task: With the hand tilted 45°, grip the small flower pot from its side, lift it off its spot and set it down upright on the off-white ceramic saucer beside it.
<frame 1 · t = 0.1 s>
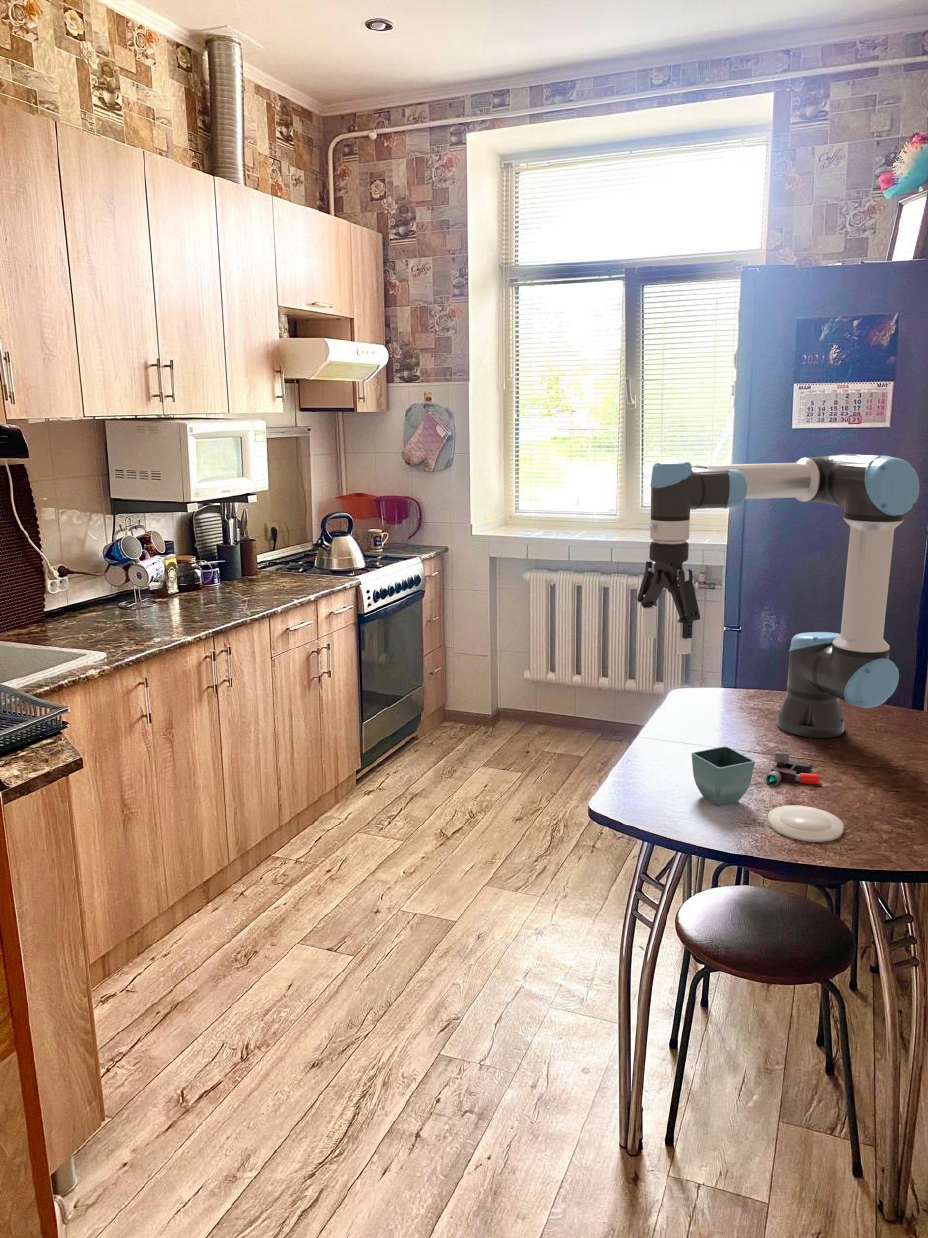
hand: (665, 645, 187), 28 cm above the table, tool pointing down, fingers open, 13 cm apart
saucer: (804, 825, 170), on the table
flower pot: (720, 800, 182), on the table
toy gun: (794, 782, 191), on the table
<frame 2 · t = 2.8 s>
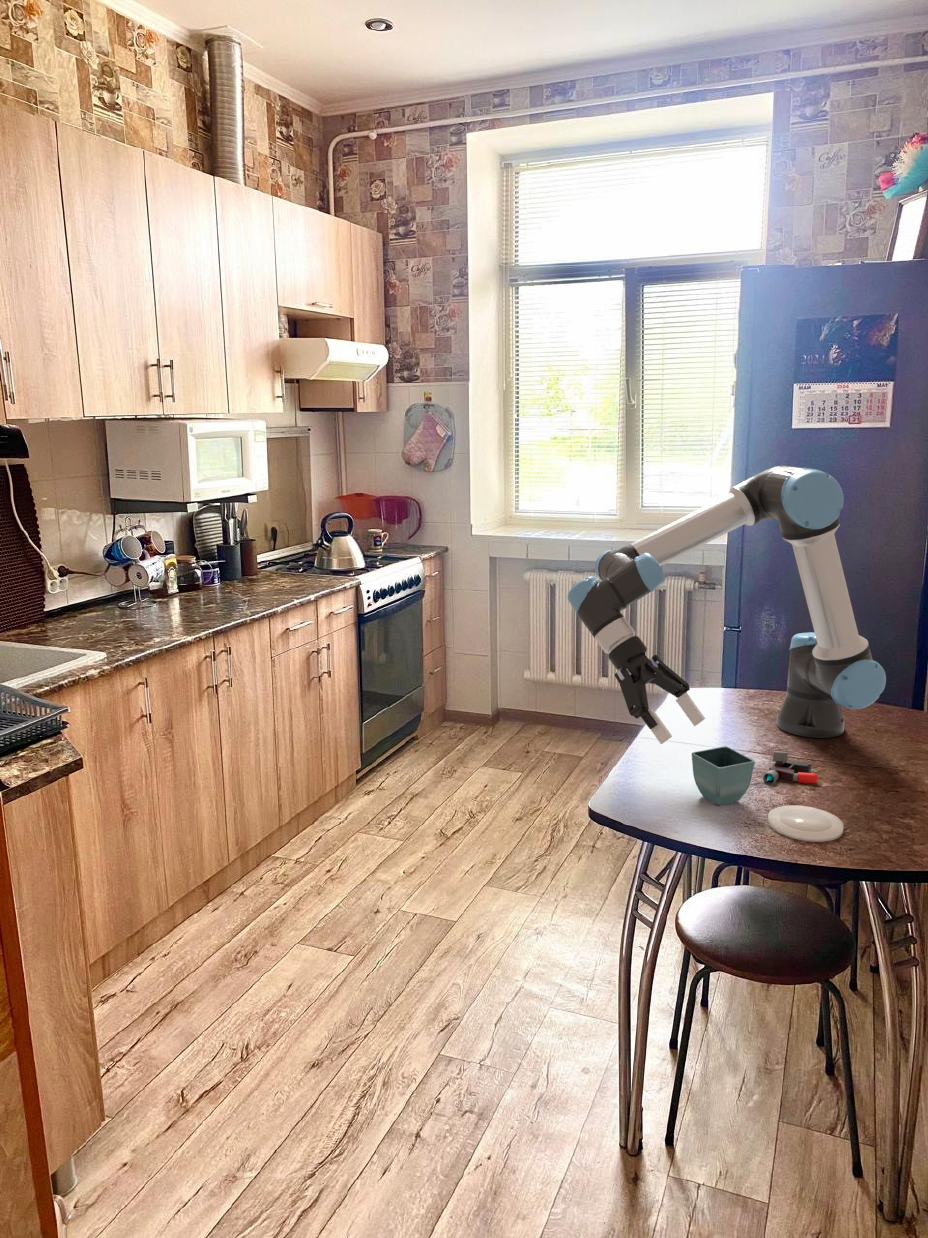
hand: (683, 731, 184), 12 cm above the table, tool tilted 45°, fingers open, 13 cm apart
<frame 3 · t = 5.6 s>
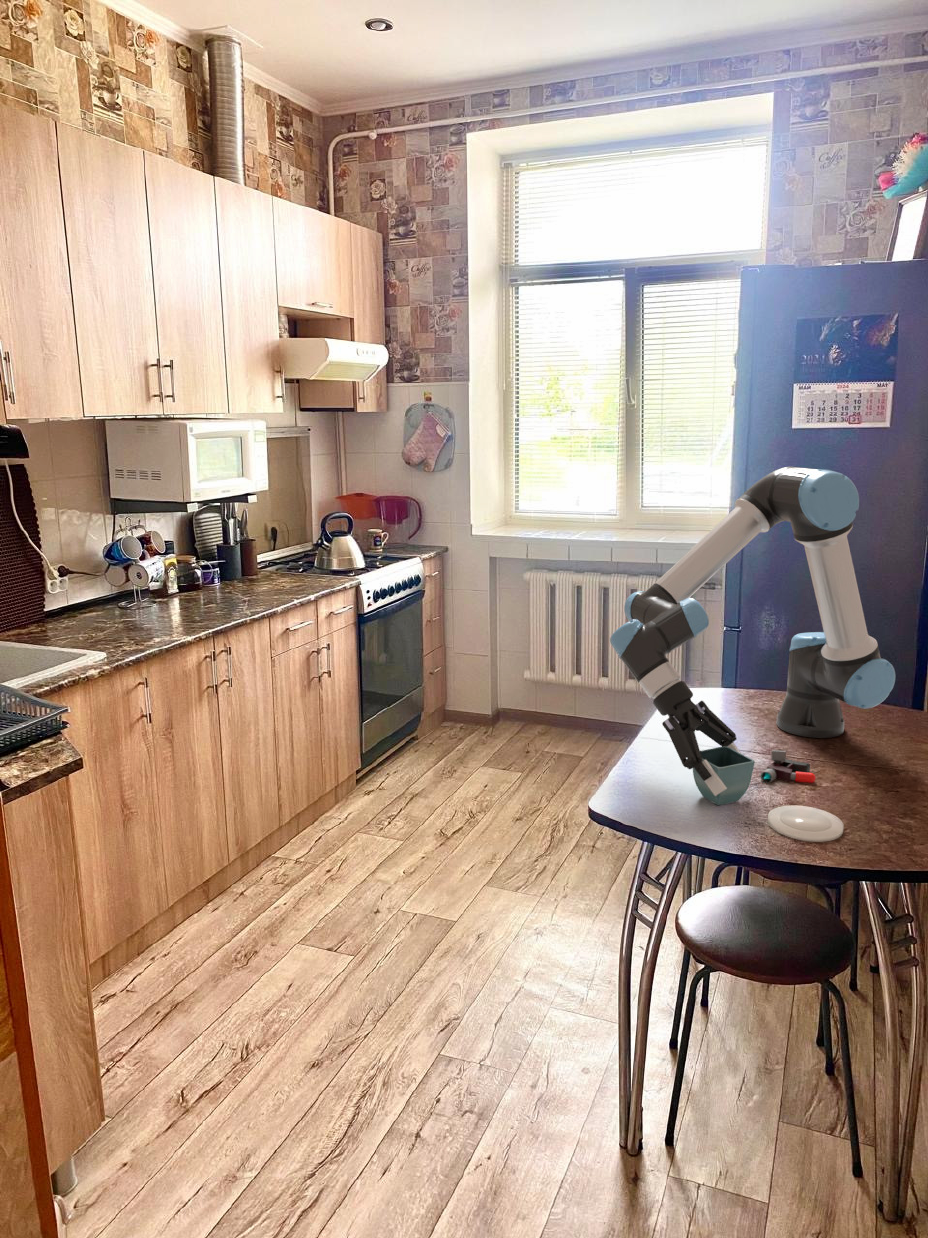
hand: (734, 782, 179), 4 cm above the table, tool tilted 45°, fingers closed on flower pot, 11 cm apart
flower pot: (719, 800, 182), on the table, touching gripper
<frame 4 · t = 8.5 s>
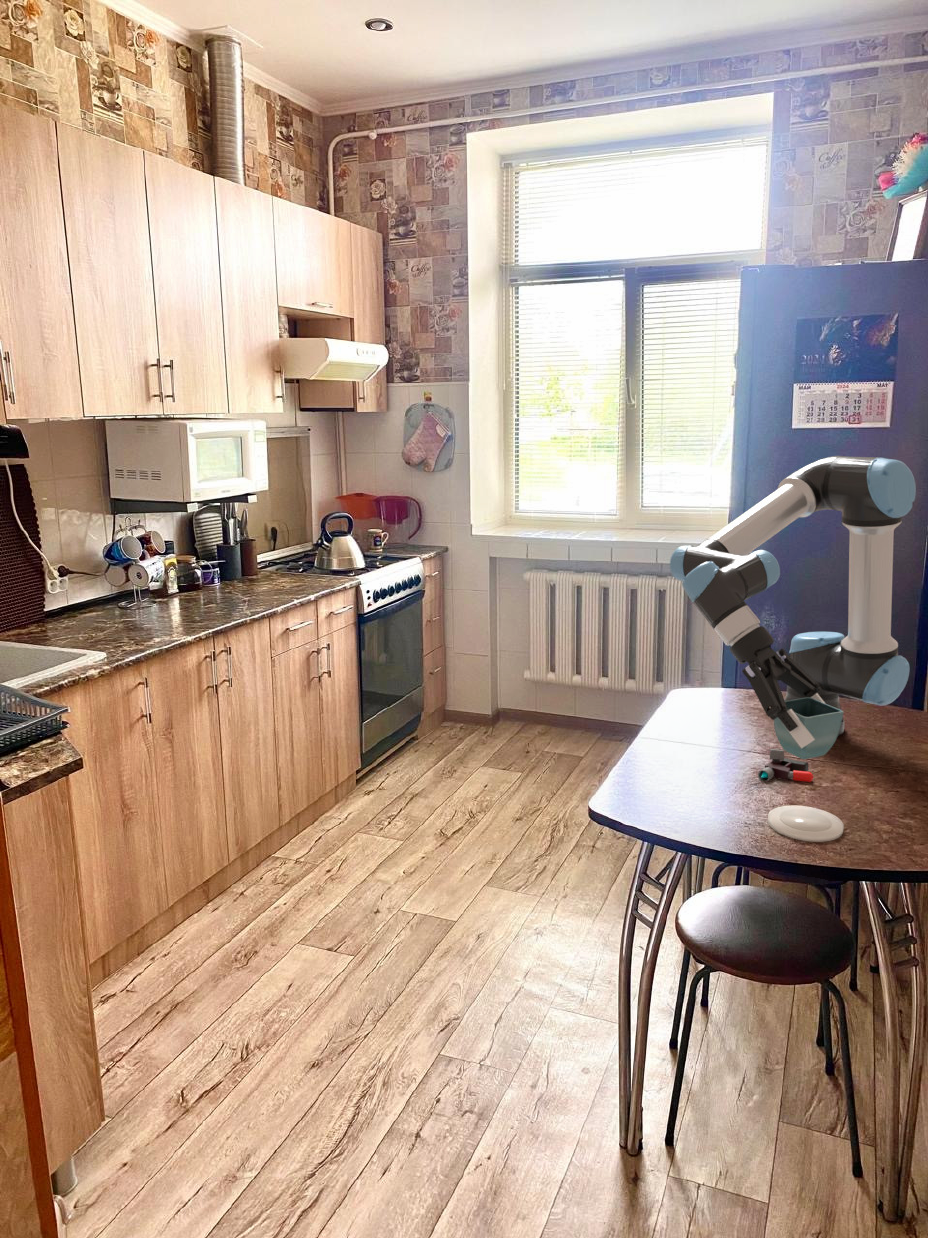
hand: (821, 735, 165), 18 cm above the table, tool tilted 45°, fingers closed on flower pot, 11 cm apart
flower pot: (803, 755, 168), point 14 cm above the table, touching gripper
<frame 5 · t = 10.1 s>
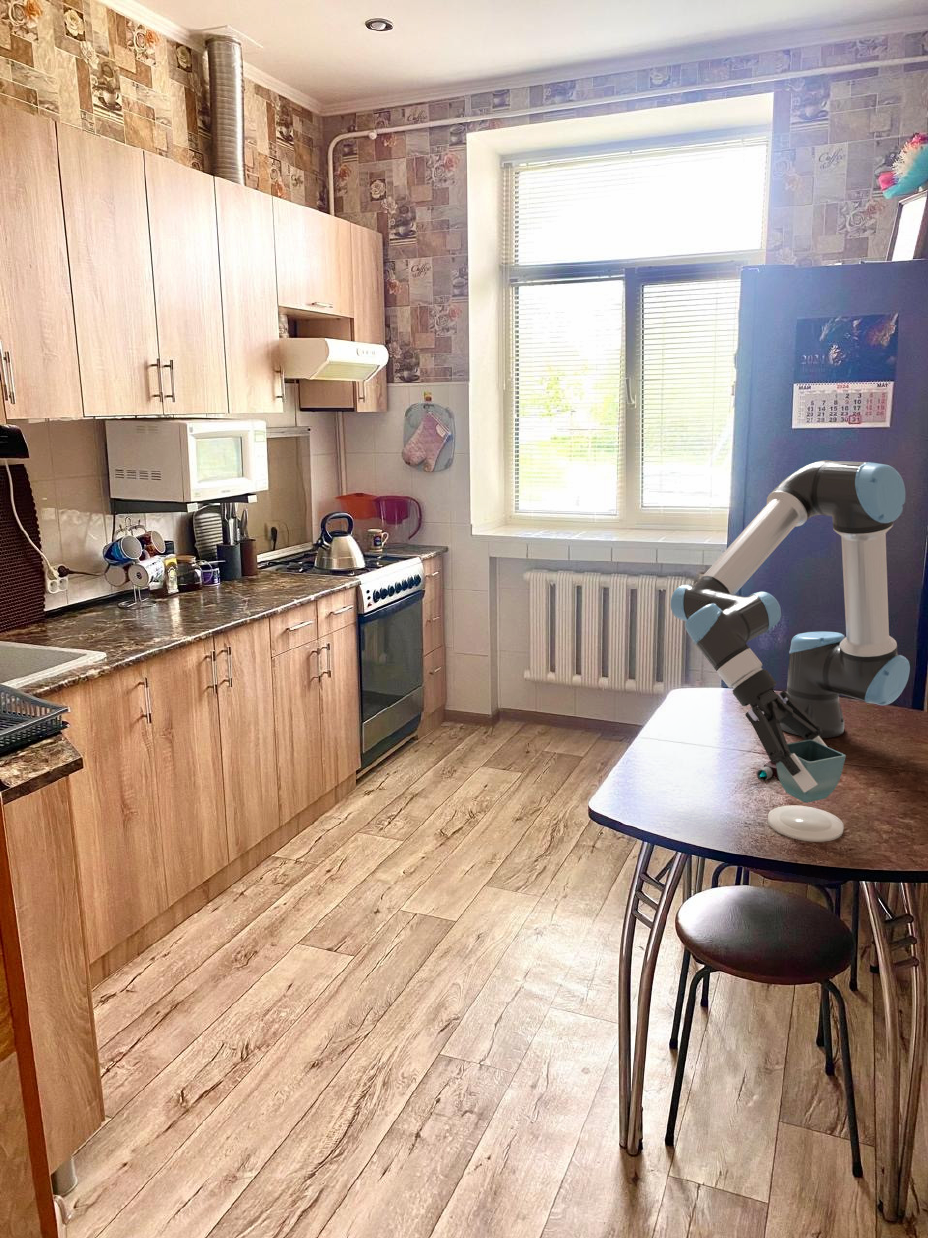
hand: (823, 778, 166), 10 cm above the table, tool tilted 45°, fingers closed on flower pot, 11 cm apart
flower pot: (805, 797, 169), point 6 cm above the table, touching gripper
when the fingers open (7 cm above the table, at t = 11.4 s): flower pot drops 1 cm, resting on saucer.
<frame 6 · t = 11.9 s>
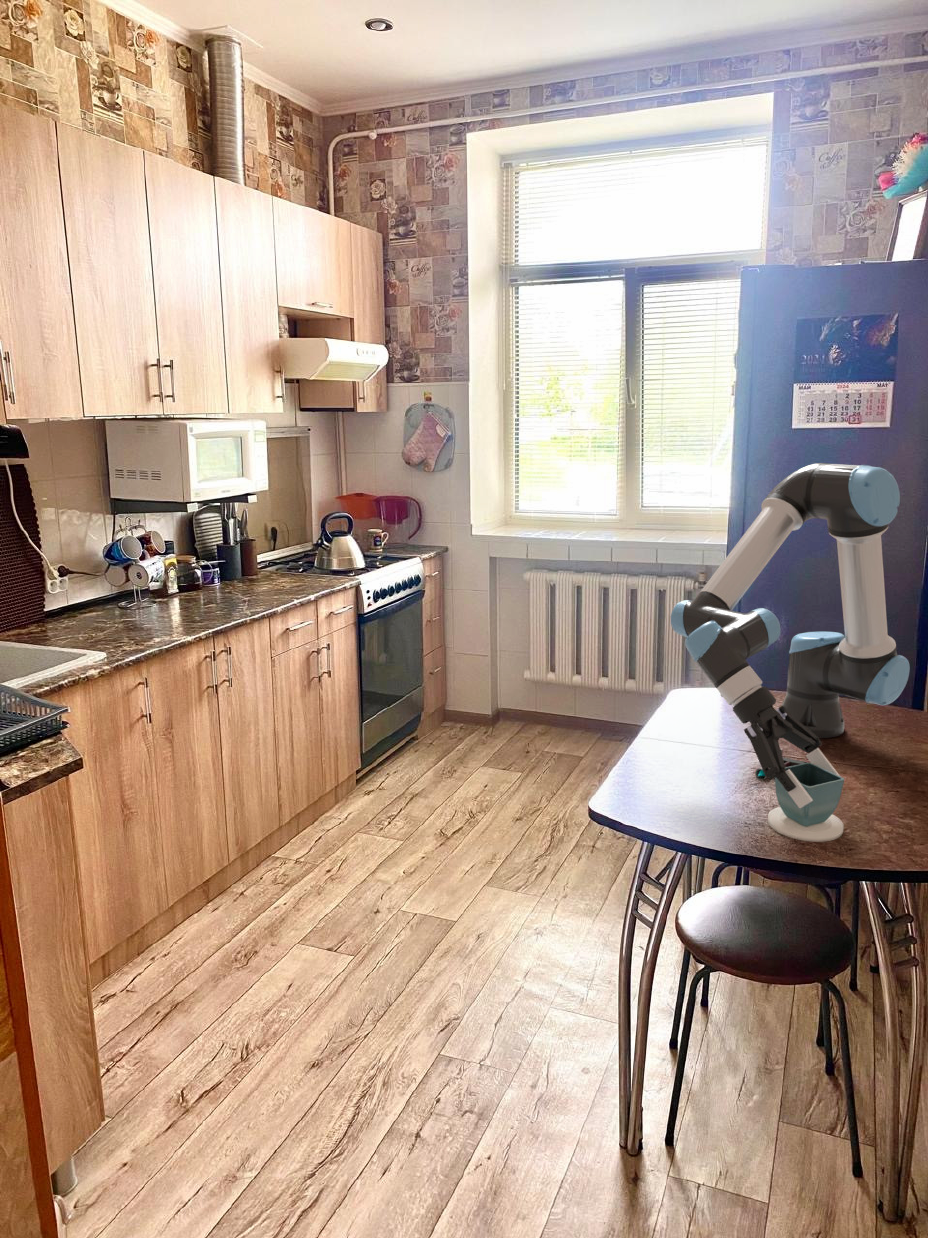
hand: (821, 792, 167), 7 cm above the table, tool tilted 45°, fingers open, 13 cm apart
flower pot: (804, 820, 170), point 1 cm above the table, touching saucer
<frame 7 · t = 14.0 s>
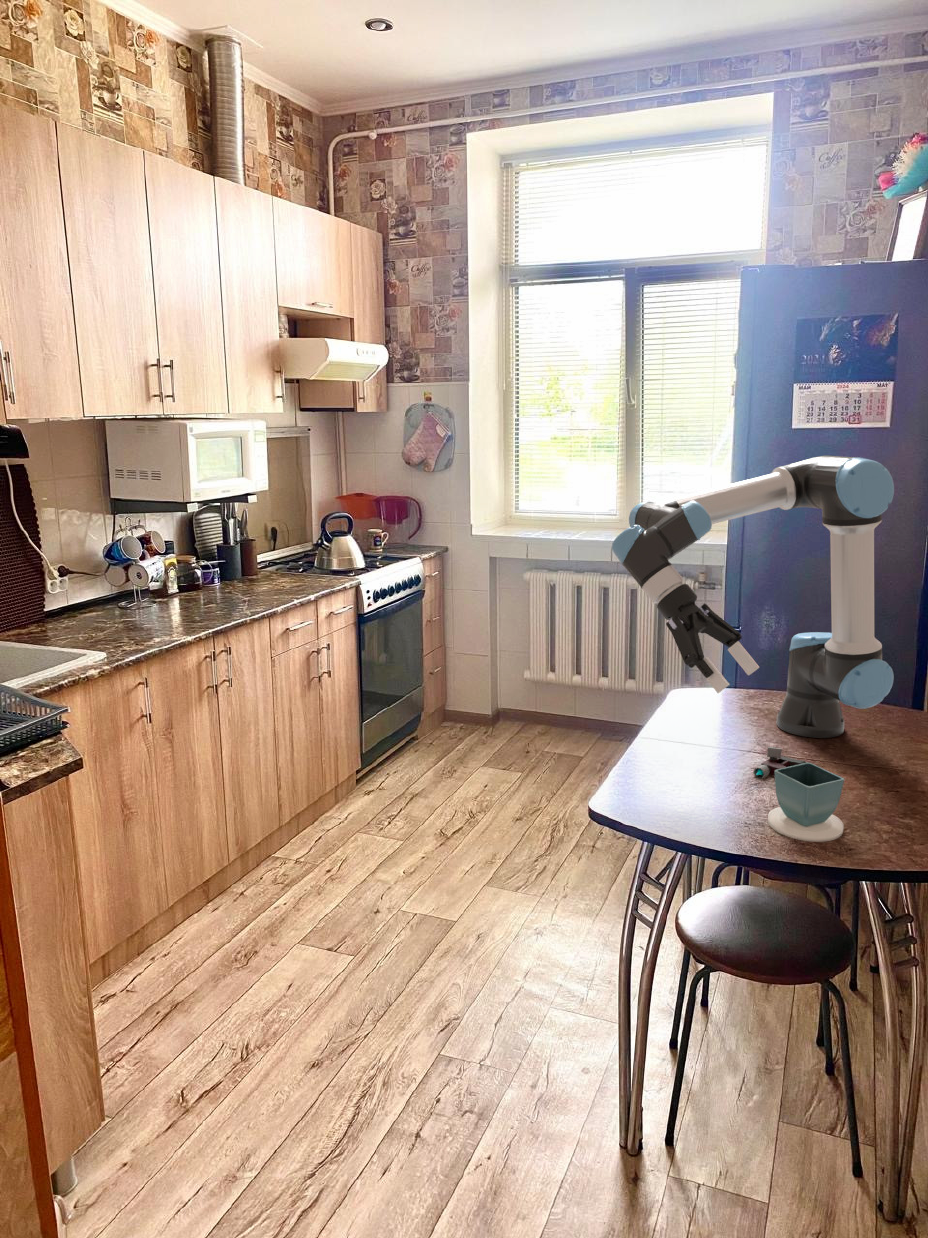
hand: (739, 680, 177), 24 cm above the table, tool tilted 45°, fingers open, 13 cm apart
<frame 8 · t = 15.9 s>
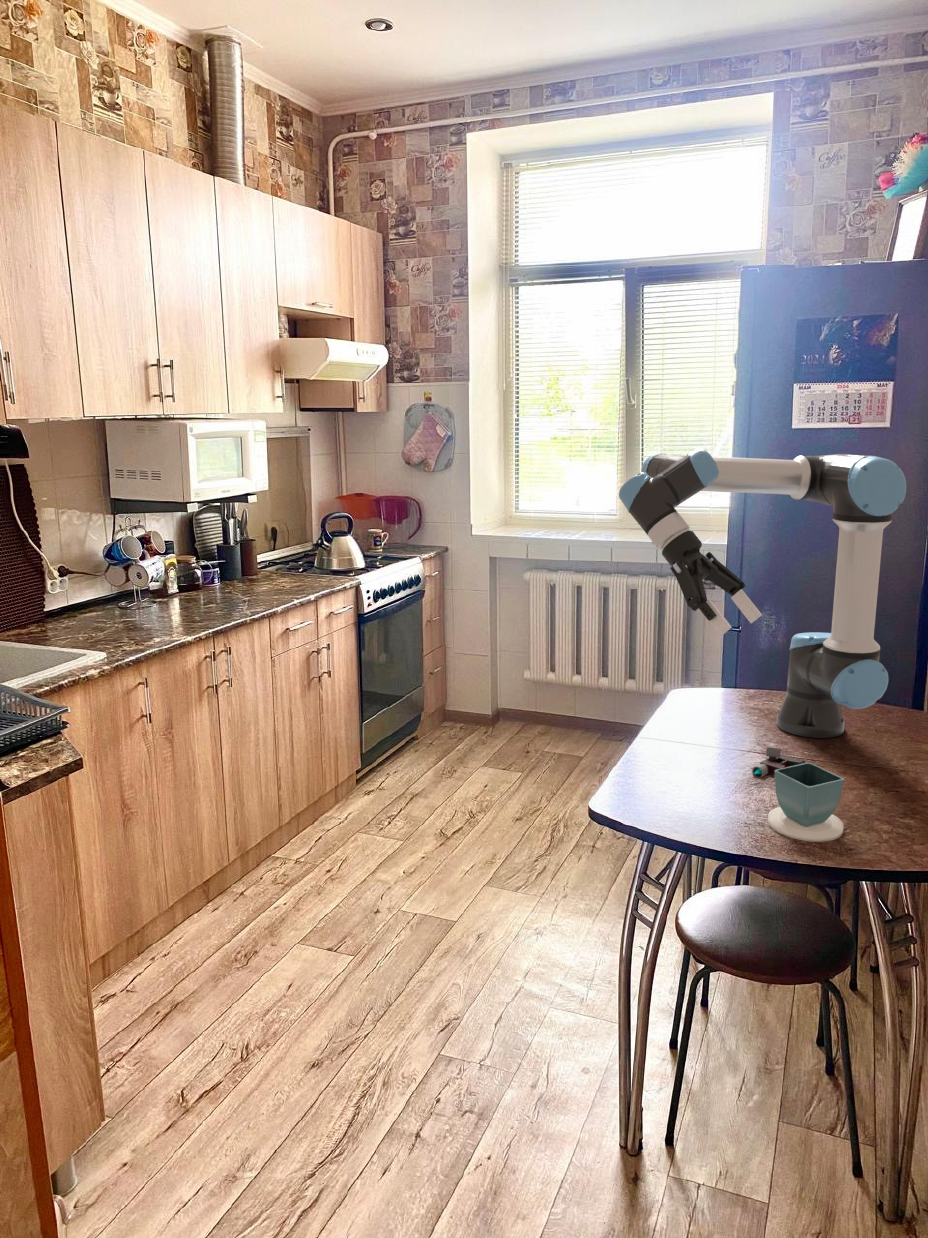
hand: (741, 625, 179), 34 cm above the table, tool tilted 45°, fingers open, 13 cm apart
at the end: flower pot inside the target area on the saucer (0.1 cm from its centre), point 0.9 cm above the saucer's base; flower pot tilted 0°; the gripper is holding nothing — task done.
